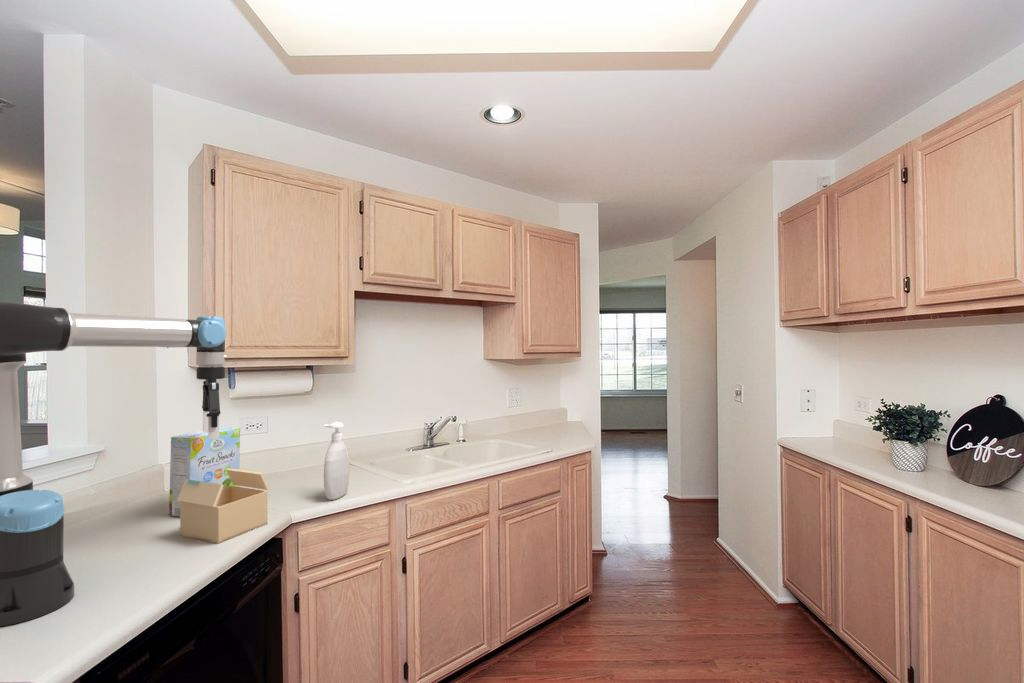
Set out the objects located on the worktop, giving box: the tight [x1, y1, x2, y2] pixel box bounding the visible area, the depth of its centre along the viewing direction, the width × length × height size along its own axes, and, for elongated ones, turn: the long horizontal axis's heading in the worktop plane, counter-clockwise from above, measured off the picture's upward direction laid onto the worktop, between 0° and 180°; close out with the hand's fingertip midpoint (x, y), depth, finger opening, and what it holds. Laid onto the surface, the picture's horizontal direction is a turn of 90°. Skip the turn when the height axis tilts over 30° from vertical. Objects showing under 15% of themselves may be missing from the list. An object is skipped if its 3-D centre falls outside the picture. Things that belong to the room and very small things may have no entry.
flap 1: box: [177, 479, 224, 507], centre depth 139 cm, size 6×15×1 cm
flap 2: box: [226, 468, 270, 491], centre depth 153 cm, size 6×15×1 cm
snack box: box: [168, 426, 241, 517], centre depth 167 cm, size 22×9×26 cm, turn 168°
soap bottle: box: [323, 421, 351, 501], centre depth 177 cm, size 14×8×27 cm, turn 170°
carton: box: [179, 486, 268, 545], centre depth 146 cm, size 16×16×10 cm
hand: (210, 434), depth 151 cm, fingers open, 13 cm apart
